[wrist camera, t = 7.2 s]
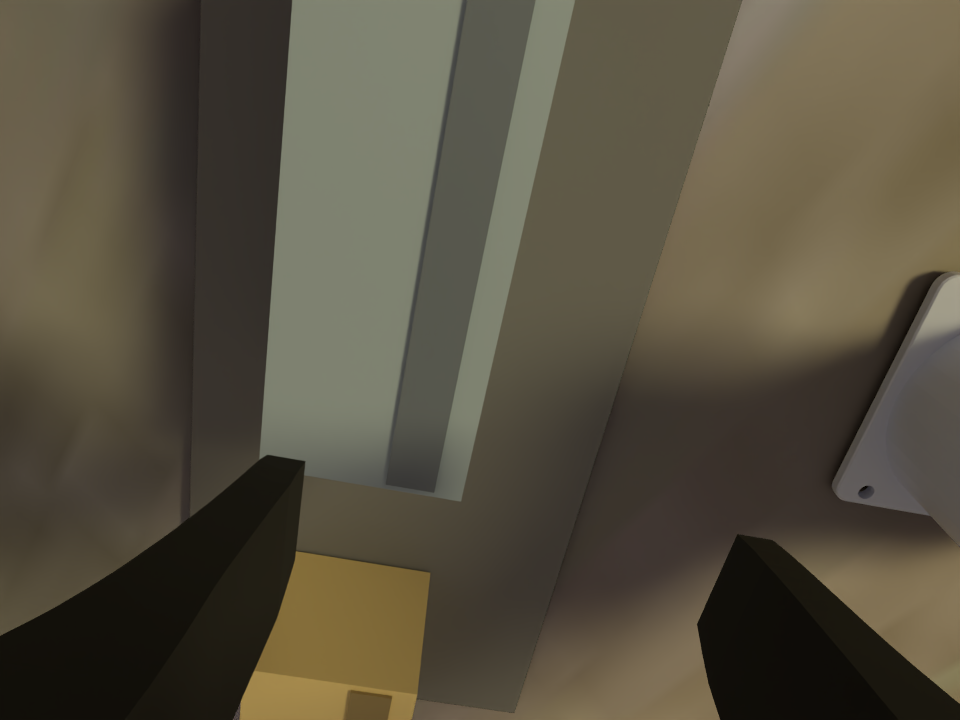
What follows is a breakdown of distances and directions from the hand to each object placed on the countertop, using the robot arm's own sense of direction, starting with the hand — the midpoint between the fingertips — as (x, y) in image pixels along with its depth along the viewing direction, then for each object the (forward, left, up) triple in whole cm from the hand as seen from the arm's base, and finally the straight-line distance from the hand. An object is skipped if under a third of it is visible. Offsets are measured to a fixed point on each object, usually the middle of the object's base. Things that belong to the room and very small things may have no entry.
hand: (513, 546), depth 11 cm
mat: (+2, +4, -10) cm, 11 cm away
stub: (+3, +13, -10) cm, 17 cm away
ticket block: (+3, -3, -10) cm, 11 cm away
